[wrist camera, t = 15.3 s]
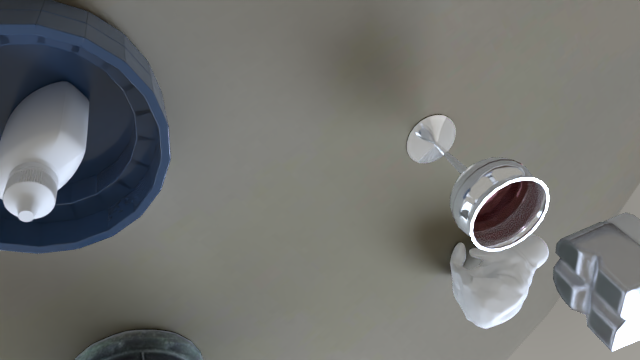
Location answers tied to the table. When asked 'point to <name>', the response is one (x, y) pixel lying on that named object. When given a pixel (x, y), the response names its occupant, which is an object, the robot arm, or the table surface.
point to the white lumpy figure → (496, 280)
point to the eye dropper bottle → (42, 148)
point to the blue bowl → (103, 122)
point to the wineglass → (483, 189)
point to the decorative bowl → (142, 347)
